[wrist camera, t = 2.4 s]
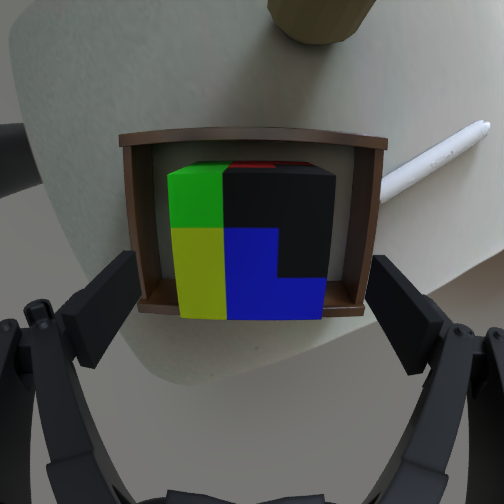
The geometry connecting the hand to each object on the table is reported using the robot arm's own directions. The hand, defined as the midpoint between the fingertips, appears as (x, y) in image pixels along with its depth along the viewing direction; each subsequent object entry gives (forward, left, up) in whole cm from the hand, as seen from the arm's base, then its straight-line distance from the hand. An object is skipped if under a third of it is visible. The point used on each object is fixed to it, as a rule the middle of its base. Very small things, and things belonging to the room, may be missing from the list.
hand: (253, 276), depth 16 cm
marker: (+19, +8, -13) cm, 24 cm away
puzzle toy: (0, 0, -13) cm, 13 cm away
